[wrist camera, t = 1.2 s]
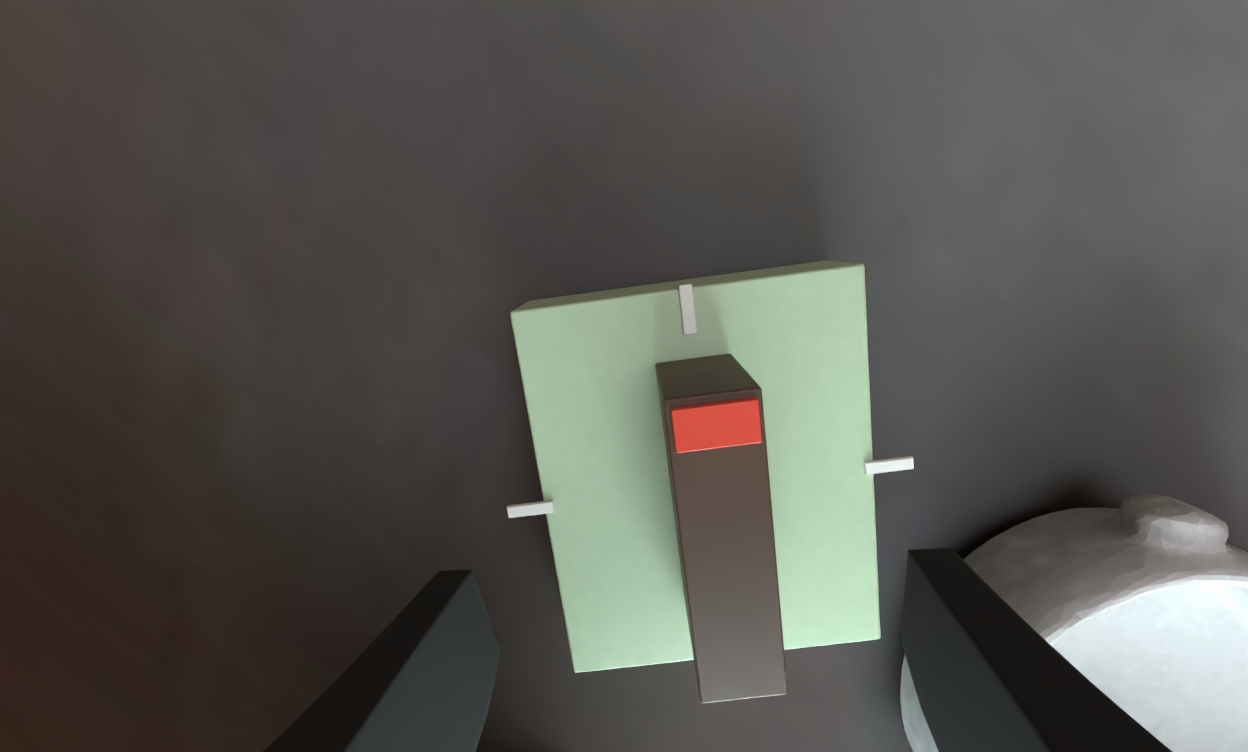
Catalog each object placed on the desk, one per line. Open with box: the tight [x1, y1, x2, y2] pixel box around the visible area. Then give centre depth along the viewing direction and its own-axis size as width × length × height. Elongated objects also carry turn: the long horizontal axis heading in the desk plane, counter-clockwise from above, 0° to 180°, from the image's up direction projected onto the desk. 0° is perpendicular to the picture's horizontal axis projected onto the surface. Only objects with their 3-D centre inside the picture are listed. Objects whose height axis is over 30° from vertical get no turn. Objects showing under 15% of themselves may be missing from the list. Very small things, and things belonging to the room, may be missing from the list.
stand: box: [507, 260, 914, 673], centre depth 19 cm, size 12×12×3 cm
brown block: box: [655, 354, 788, 703], centre depth 16 cm, size 8×2×4 cm, turn 8°
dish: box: [900, 495, 1248, 752], centre depth 20 cm, size 14×14×5 cm
